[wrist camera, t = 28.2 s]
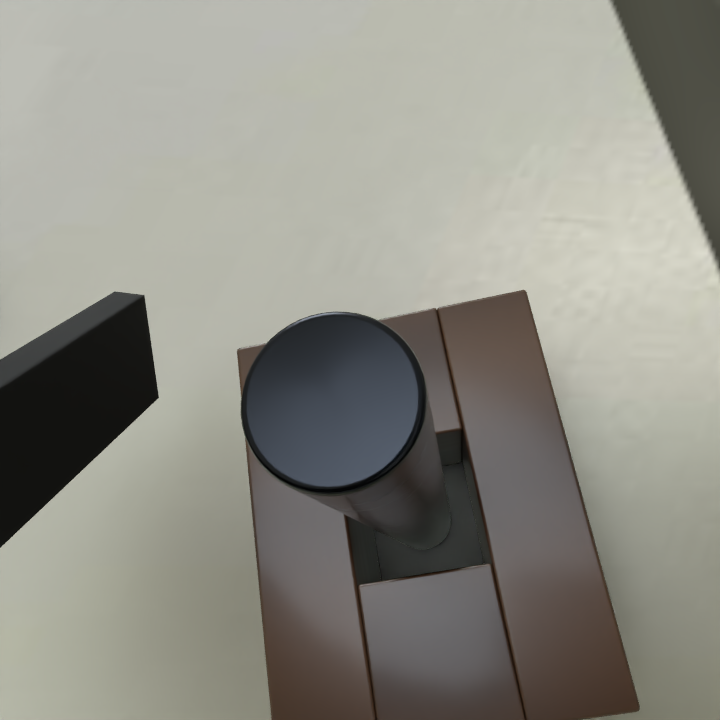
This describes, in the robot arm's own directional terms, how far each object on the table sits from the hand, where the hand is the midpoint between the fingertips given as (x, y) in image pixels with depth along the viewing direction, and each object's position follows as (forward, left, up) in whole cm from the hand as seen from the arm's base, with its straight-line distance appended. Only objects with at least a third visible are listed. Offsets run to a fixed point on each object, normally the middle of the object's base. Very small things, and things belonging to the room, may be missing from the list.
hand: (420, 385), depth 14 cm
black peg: (-2, 0, -7) cm, 8 cm away
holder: (-2, 0, -7) cm, 8 cm away
